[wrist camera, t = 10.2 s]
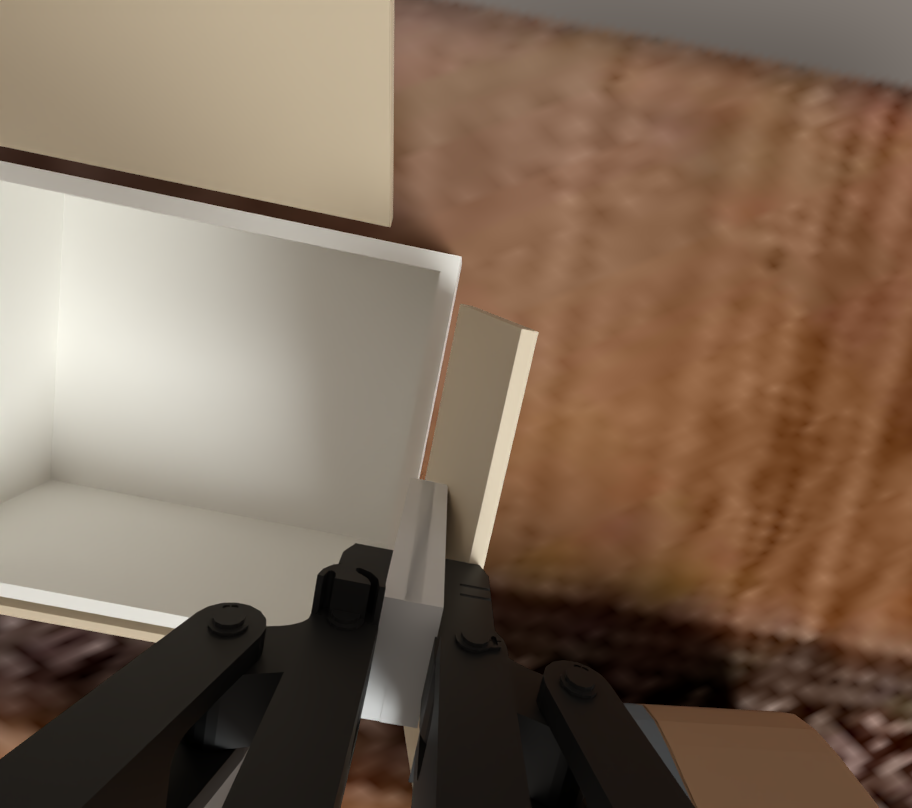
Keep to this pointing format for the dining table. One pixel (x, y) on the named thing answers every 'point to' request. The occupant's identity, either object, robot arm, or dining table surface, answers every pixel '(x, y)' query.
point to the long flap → (211, 94)
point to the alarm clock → (748, 758)
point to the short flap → (477, 432)
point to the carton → (200, 402)
